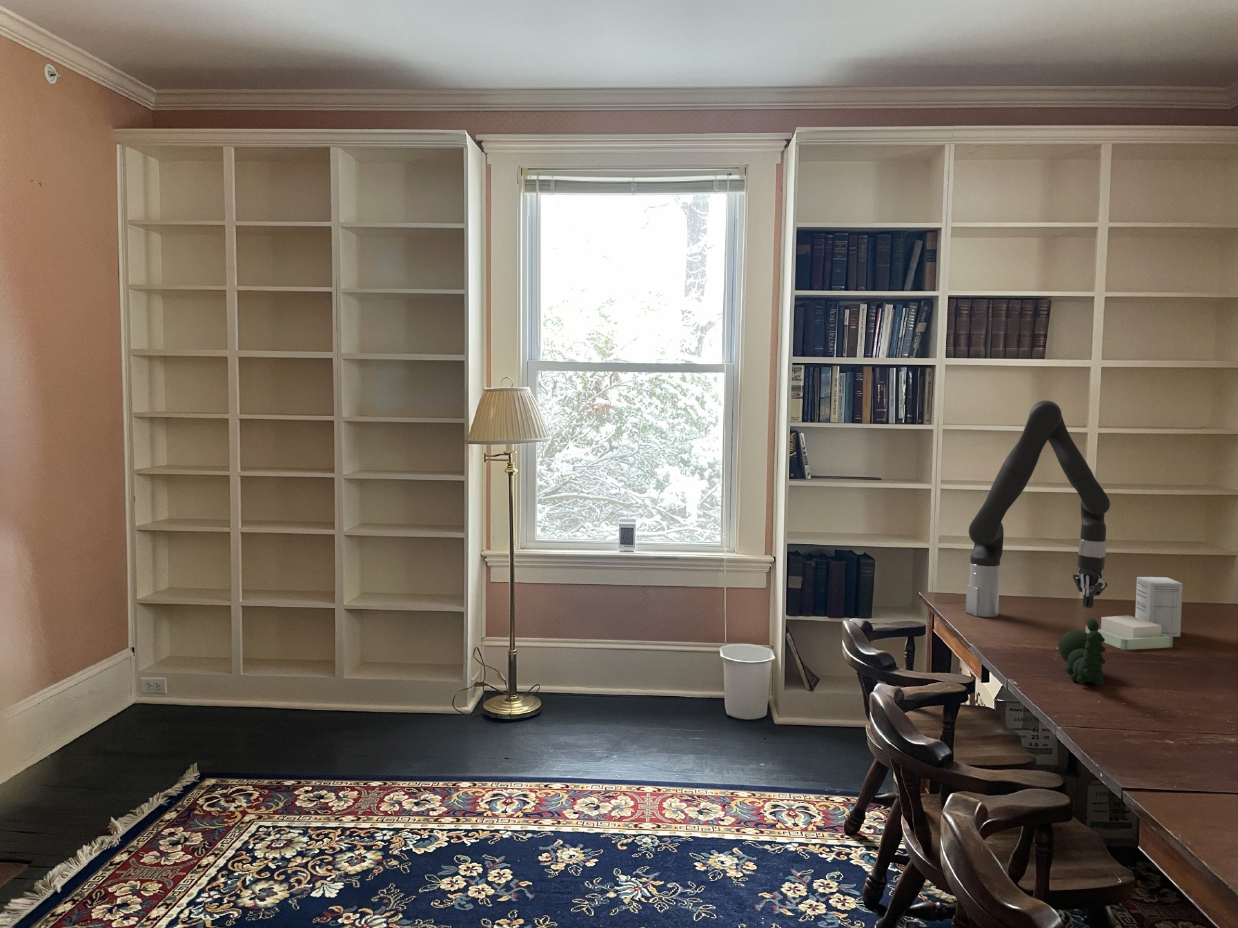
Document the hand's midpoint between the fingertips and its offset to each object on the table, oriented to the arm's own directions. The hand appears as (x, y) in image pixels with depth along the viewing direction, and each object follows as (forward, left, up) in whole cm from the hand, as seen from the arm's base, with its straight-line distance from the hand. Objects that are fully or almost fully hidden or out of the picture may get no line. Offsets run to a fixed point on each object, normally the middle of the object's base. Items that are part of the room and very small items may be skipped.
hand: (1087, 607), depth 273 cm
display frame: (0, -17, -6) cm, 18 cm away
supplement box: (+16, -10, -6) cm, 20 cm away
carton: (+2, -16, -7) cm, 17 cm away
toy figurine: (-38, -44, -7) cm, 59 cm away
